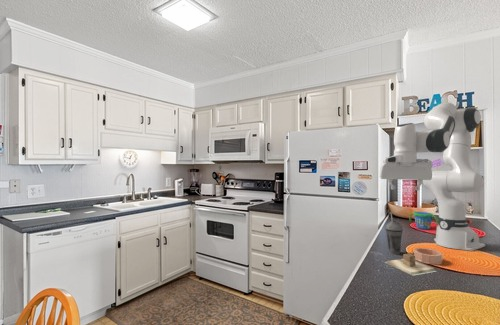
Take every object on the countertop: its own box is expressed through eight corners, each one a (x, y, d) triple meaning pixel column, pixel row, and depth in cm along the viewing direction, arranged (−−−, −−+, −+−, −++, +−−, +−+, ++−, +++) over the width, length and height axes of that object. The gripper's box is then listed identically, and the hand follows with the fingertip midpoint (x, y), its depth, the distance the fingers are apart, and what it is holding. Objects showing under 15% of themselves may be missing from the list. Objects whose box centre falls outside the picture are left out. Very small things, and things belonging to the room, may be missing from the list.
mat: (406, 259, 115) (405, 259, 115) (436, 272, 101) (436, 271, 101) (384, 263, 111) (384, 262, 111) (413, 276, 98) (413, 275, 98)
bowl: (425, 255, 119) (425, 247, 120) (447, 263, 110) (447, 254, 110) (409, 258, 117) (409, 249, 117) (430, 266, 107) (430, 257, 107)
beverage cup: (405, 256, 119) (405, 213, 119) (388, 255, 120) (387, 213, 120) (399, 251, 126) (399, 210, 126) (383, 250, 127) (383, 210, 127)
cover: (407, 259, 114) (407, 248, 114) (434, 270, 102) (434, 258, 102) (386, 263, 110) (386, 251, 110) (411, 274, 99) (410, 262, 99)
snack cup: (440, 229, 166) (440, 213, 166) (433, 232, 159) (433, 215, 160) (413, 225, 178) (413, 210, 178) (406, 227, 172) (406, 212, 172)
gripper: (429, 159, 115) (429, 190, 115) (379, 159, 122) (379, 188, 121) (434, 158, 109) (434, 191, 109) (381, 158, 116) (381, 189, 115)
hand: (405, 189), depth 115 cm, fingers open, 8 cm apart
